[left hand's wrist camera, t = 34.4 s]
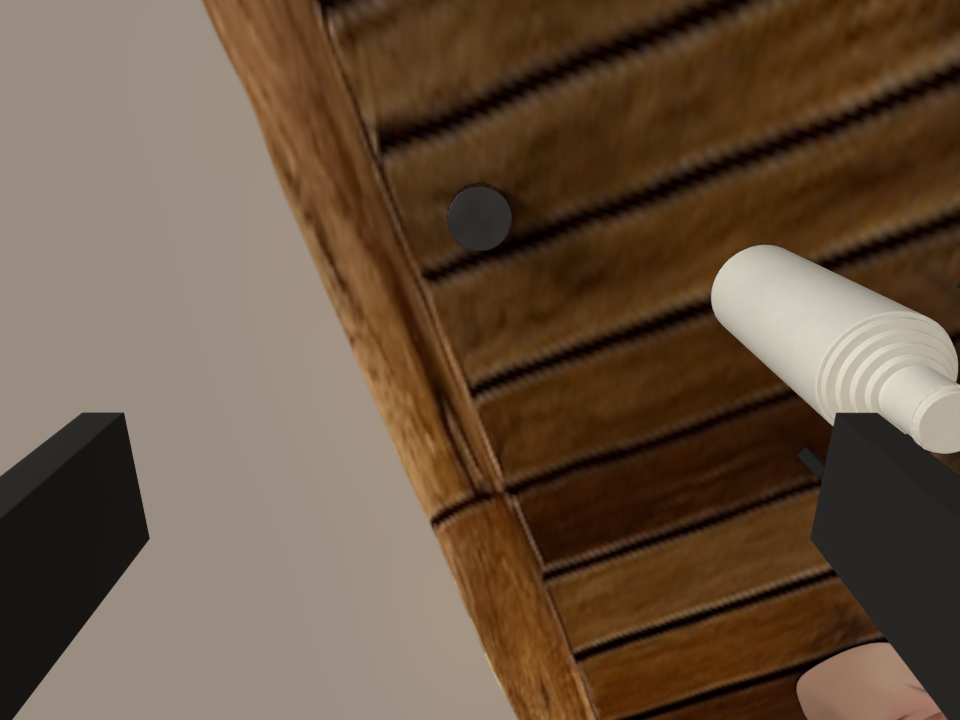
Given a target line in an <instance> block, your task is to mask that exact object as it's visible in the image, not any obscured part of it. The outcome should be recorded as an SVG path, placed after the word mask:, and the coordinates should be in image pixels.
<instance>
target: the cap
mask: <svg viewBox="0 0 960 720" xmlns="http://www.w3.org/2000/svg"><path fill="white" fill-rule="evenodd" d="M448 211H449V213H448V216H447V218H448V225H449V229H450V232H451V234H452V235H453V237H454V238H455V240H456V241H457V242H458V243H459V244H461V245H462V246H464V247H465V248H468V249H470V250H475V251H485V250H489V249H492V248H494V247H496V246H497V245H499V244H500V243H501V242H502V241H503V240H504V239H505V238H506V236H507V234H508V233H509V230H510V227H511V221H512V216H511V213H512V211H511V208H510V204H509V202H508V201H507V198H506V196H504V195H503V193H502V191H499V190H498V189H497V187H496V188H495V187H493V186H491V184H490V185H489V184H485V183H478V182H477V183H475V184H470V185H468V186H466V187H465V186H464V188H463V189H461V190H459V191H458V193H457V194H456V195H454V198H453V200H451V203H450V207H449V209H448Z"/></svg>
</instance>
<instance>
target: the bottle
mask: <svg viewBox="0 0 960 720" xmlns="http://www.w3.org/2000/svg"><path fill="white" fill-rule="evenodd" d="M711 301H712V307H713V311H714V313H715V316H716V317H717V319H718V321H719V322H720V323H721V324H722V325H723V326H724V327H725V328H726V329H727V330H728V331H729V332H730V333H731V334H733V335H734V336H735V337H736V338H737V339H738V340H739V341H740V342H741V343H742V344H744V345H745V346H746V347H747V348H748V349H749V350H750V351H751V352H752V353H753V354H754V355H756V356H757V357H758V358H759V359H760V360H761V361H762V362H763V363H764V364H765V365H766V366H768V367H769V368H770V369H771V370H772V371H773V372H774V373H775V374H776V375H777V376H779V377H780V378H781V379H782V380H783V381H784V382H785V383H786V384H787V385H788V386H789V387H791V388H792V389H793V390H794V391H795V392H796V393H797V394H798V395H799V396H800V397H801V398H803V399H804V400H805V401H806V402H807V403H808V404H809V405H810V406H811V407H812V408H814V409H815V410H816V411H817V412H818V413H819V414H820V415H821V416H822V417H823V418H824V419H826V420H827V421H828V422H829V423H830V424H831V425H832V426H833V425H834V420H835V415H836V413H879V414H880V415H881V416H883V417H884V418H885V419H886V420H888V421H889V422H890V423H892V424H893V425H894V426H895V427H897V428H898V429H899V430H901V431H902V432H903V433H904V434H909V435H910V436H911V437H912V438H913V439H914V441H915V442H916V443H917V444H919V445H920V446H921V447H922V448H924V449H925V450H928V451H931V452H936V453H942V454H948V453H954V452H958V451H960V385H959V384H957V383H956V380H957V374H958V360H957V355H956V351H955V348H954V346H953V344H952V342H951V340H950V338H949V336H948V334H947V333H946V332H945V330H944V329H943V328H942V327H941V326H940V325H939V324H938V323H936V322H935V321H933V320H932V319H930V318H928V317H926V316H924V315H922V314H920V313H918V312H916V311H914V310H911V309H909V308H907V307H905V306H903V305H901V304H899V303H897V302H895V301H893V300H890V299H888V298H886V297H884V296H882V295H880V294H878V293H876V292H874V291H872V290H870V289H867V288H865V287H863V286H861V285H859V284H857V283H855V282H853V281H851V280H849V279H846V278H844V277H842V276H840V275H838V274H836V273H834V272H832V271H830V270H828V269H826V268H823V267H821V266H819V265H817V264H815V263H813V262H811V261H809V260H807V259H805V258H802V257H800V256H798V255H796V254H794V253H792V252H790V251H788V250H786V249H784V248H781V247H778V246H773V245H759V246H754V247H750V248H747V249H745V250H743V251H741V252H739V253H737V254H736V255H734V256H733V257H732V258H730V259H729V260H728V261H727V262H726V263H725V264H724V265H723V267H722V268H721V269H720V271H719V273H718V274H717V276H716V278H715V281H714V284H713V287H712V293H711Z"/></svg>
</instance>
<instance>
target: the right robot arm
mask: <svg viewBox="0 0 960 720" xmlns="http://www.w3.org/2000/svg"><path fill="white" fill-rule="evenodd" d="M956 286H958V287H959V288H960V282H959V283H958V284H957V285H956ZM797 456H798V457H799V458H800V459H801V460H802V461H803V462H804V463H805V465H806V466H807V467H808V468H809V469H810V470H811V471H812V472H813V473H814V475H815V476H816V477H818V478H819V479H821V480H822V479H823V474H824V469H825V464H826V460H824V459H823V458H821V457H820V456H818V455H817V454H815V453H814V452H812V451H811V450H809V449H808V448H806V447H805V448H804V449H803V450H802V451H801V452H800V453H799V454H798V455H797Z"/></svg>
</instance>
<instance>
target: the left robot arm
mask: <svg viewBox="0 0 960 720" xmlns="http://www.w3.org/2000/svg"><path fill="white" fill-rule="evenodd" d="M149 539H150V538H149V533H148V528H147V524H146V518H145V514H144V509H143V504H142V499H141V494H140V489H139V484H138V479H137V474H136V469H135V464H134V460H133V455H132V450H131V445H130V440H129V435H128V430H127V425H126V420H125V415H124V413H81V414H80V415H79V416H78V417H76V418H75V419H74V420H72V421H71V422H70V423H68V424H67V425H66V426H65V427H63V428H62V429H61V430H59V431H58V432H57V433H56V434H54V435H53V436H52V437H50V438H49V439H48V440H47V441H45V442H44V443H43V444H41V445H40V446H39V447H38V448H36V449H35V450H34V451H33V452H31V453H30V454H29V455H27V456H26V457H25V458H24V459H22V460H21V461H20V462H18V463H17V464H16V465H14V466H13V467H12V468H11V469H9V470H8V471H7V472H6V473H4V474H3V475H2V476H0V720H12V719H13V718H14V717H15V715H16V714H17V713H18V711H19V710H20V709H21V707H22V706H23V705H24V704H25V702H26V701H27V700H28V698H29V697H30V696H31V694H32V693H33V692H34V690H35V689H36V688H37V686H38V685H39V684H40V682H41V681H42V680H43V678H44V677H45V676H46V675H47V673H48V672H49V671H50V669H51V668H52V667H53V665H54V664H55V663H56V661H57V660H58V659H59V657H60V656H61V655H62V653H63V652H64V651H65V650H66V648H67V647H68V646H69V644H70V643H71V642H72V640H73V639H74V638H75V636H76V635H77V634H78V632H79V631H80V630H81V628H82V627H83V626H84V625H85V623H86V622H87V621H88V619H89V618H90V617H91V615H92V614H93V613H94V611H95V610H96V609H97V607H98V606H99V605H100V603H101V602H102V601H103V599H104V598H105V597H106V596H107V594H108V593H109V592H110V590H111V589H112V588H113V586H114V585H115V584H116V582H117V581H118V580H119V578H120V577H121V576H122V574H123V573H124V572H125V571H126V569H127V568H128V566H129V565H130V564H131V562H132V561H133V560H134V559H135V557H136V556H137V555H138V553H139V552H140V551H141V549H142V548H143V547H144V545H145V544H146V543H147V542H148V540H149ZM810 539H811V540H812V542H813V543H814V544H815V545H816V547H817V548H818V549H819V551H820V552H821V553H822V555H823V556H824V557H825V559H826V560H827V561H828V563H829V564H830V565H831V567H832V568H833V569H834V571H835V572H836V573H837V574H838V576H839V577H840V578H841V580H842V581H843V582H844V584H845V585H846V586H847V588H848V589H849V590H850V592H851V593H852V594H853V596H854V597H855V598H856V599H857V601H858V602H859V603H860V605H861V606H862V607H863V609H864V610H865V611H866V613H867V614H868V615H869V617H870V618H871V619H872V621H873V622H874V623H875V625H876V626H877V627H878V628H879V630H880V631H881V632H882V634H883V635H884V636H885V638H886V639H887V640H888V642H889V643H890V644H891V646H892V647H893V648H894V650H895V651H896V652H897V653H898V655H899V656H900V657H901V659H902V660H903V661H904V663H905V664H906V665H907V667H908V668H909V669H910V671H911V672H912V673H913V675H914V676H915V677H916V679H917V680H918V681H919V682H920V684H921V685H922V686H923V688H924V689H925V690H926V692H927V693H928V694H929V696H930V697H931V698H932V700H933V701H934V702H935V704H936V705H937V706H938V707H939V709H940V710H941V711H942V713H943V714H944V715H945V717H946V718H947V719H948V720H960V476H958V475H957V474H956V473H955V472H953V471H952V470H951V469H949V468H948V467H947V466H946V465H944V464H943V463H942V462H940V461H939V460H938V459H937V458H935V457H934V456H933V455H931V454H930V453H929V452H928V451H926V450H925V449H924V448H922V447H921V446H920V445H919V444H917V443H916V442H915V441H913V440H912V439H911V438H910V437H908V436H907V435H906V434H904V433H903V432H902V431H901V430H899V429H898V428H897V427H895V426H894V425H893V424H892V423H890V422H889V421H888V420H886V419H885V418H884V417H883V416H881V415H880V414H879V413H836V415H835V420H834V425H833V430H832V435H831V440H830V445H829V450H828V455H827V460H826V464H825V469H824V474H823V479H822V484H821V489H820V494H819V499H818V504H817V509H816V514H815V518H814V523H813V528H812V533H811V538H810Z"/></svg>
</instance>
